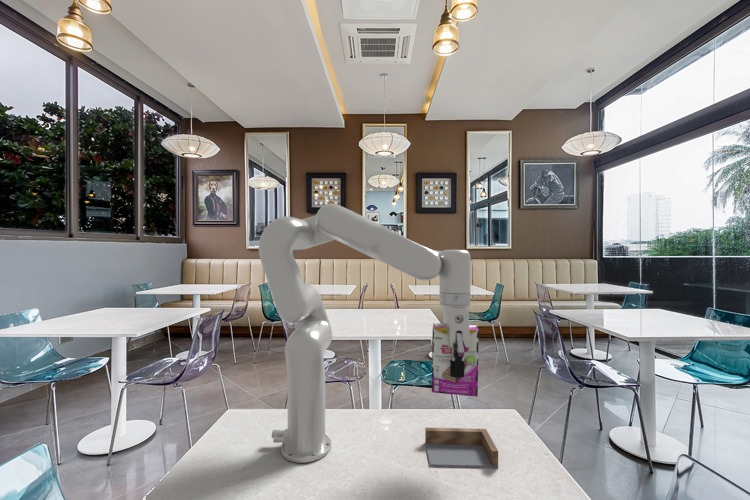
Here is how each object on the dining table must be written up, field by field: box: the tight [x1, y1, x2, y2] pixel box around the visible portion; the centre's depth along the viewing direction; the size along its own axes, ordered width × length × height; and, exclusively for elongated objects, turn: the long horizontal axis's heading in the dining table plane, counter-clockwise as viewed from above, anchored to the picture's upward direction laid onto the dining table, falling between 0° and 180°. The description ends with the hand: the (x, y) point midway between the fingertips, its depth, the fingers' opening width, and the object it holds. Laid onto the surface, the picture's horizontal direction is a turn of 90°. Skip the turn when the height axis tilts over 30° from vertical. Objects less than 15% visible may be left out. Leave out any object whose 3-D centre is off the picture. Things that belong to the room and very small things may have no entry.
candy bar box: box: [431, 322, 480, 397], centre depth 85 cm, size 11×5×16 cm, turn 79°
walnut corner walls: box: [424, 427, 499, 467], centre depth 86 cm, size 16×10×4 cm, turn 88°
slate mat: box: [425, 444, 499, 469], centre depth 86 cm, size 16×10×1 cm, turn 88°
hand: (454, 371), depth 85 cm, fingers closed on candy bar box, 5 cm apart
